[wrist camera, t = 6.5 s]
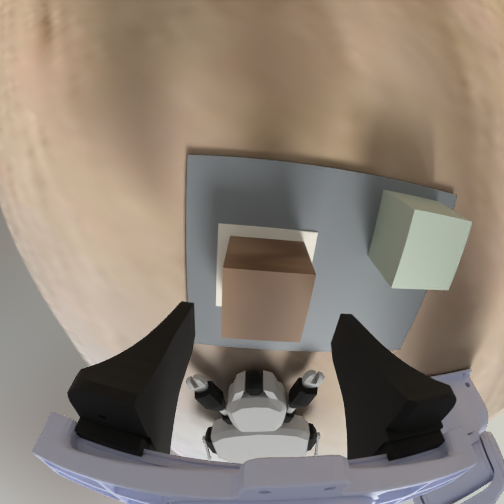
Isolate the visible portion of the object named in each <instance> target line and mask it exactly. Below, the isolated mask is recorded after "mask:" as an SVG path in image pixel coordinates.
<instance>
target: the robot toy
mask: <svg viewBox="0 0 504 504" xmlns="http://www.w3.org/2000/svg"><path fill="white" fill-rule="evenodd" d="M245 372H246V371H243V372H241V373H238V374H237V375H236V378H235V380H234V382H233V383H232V384H231V385H230V386H229V389H228V395H227V404H226V405H225V400H224V395H223V392H222V391H221V390H220V389H219V388H218V387H217V386H216V385H215V384H214V382H213V381H207V380H206V378H205V377H203V376H202V375H194V376H193V378H192V377H191V376H190V377H188V378H187V380H186V383H187V385H188V387H189V388H190V389H191V390H193V391H195V399H196V400H197V401H198V402H200V403H201V404H202V405H203V406H204V407H205V408H206V409H209V410H216V411H220V412H221V413H222V418H220V419H218V420H215V422H214V424H213V426H212V427H208V429H207V432H206V435H205V436H203V439H202V440H203V443H205V447H206V451H207V455H208V460H209V461H211V456H210V453H209V449H208V447H209V448H210V450H211V451H212V452H213V453H216V454H217V455H218V457H219V458H221V459H223V460H226V461H229V462H233V463H240V464H243V463H245V462H246V461H247V460H251V459H255V458H266V457H303V456H305V455H306V452H307V451H309V450H311V449H312V447H313V446H314V444H315V443H316V449H315V454H314V455H315V456H317V455H318V454H317V451H318V441H319V439H320V433H319V432H318V433H317V432H316V429H315V427H314V426H313V424H311V423H308V422H307V421H306V419H305V418H304V417H301V416H299V415H296V414H295V412H294V410H295V409H296V408H301V407H305V406H308V404H309V403H310V402H311V401H312V400H313V398H314V397H315V396H316V395H317V389H318V388H317V386H319V385H321V384H322V381H323V379H324V375H323V374H322V372H318V373H317V374H316V371H314V370H309V371H307V372H306V373H305V374H304V375H303V377H302V378H298V379H297V381H296V382H295V384H294V385H293V386H292V388H291V389H290V392H289V403H288V405H286V393H285V388H284V386H283V384H282V383H281V382H279V381H277V379H276V378H275V376H274V374H273V373H272V372H268V371H265V370H263V378H262V374H261V372H259V371H256V370H253V371H249V372H248V373H247V374H246V378H245Z"/></svg>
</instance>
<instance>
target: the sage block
mask: <svg viewBox="0 0 504 504" xmlns="http://www.w3.org/2000/svg"><path fill="white" fill-rule="evenodd" d="M471 225H472V221H470V220H469V219H467V218H466V217H464V216H462V215H461V214H459V213H457V212H456V211H454V210H452V209H450V208H449V207H447V206H445V205H443V204H442V203H440V202H438V201H435V200H430V199H426V198H422V197H417V196H412V195H408V194H403V193H398V192H393V191H388V190H383V194H382V199H381V203H380V208H379V212H378V217H377V221H376V225H375V230H374V234H373V238H372V242H371V246H370V249H369V253H368V257H369V258H370V259H371V261H372V262H373V263H374V265H375V266H376V268H377V269H378V270H379V272H380V273H381V275H382V276H383V277H384V279H385V280H386V282H387V283H388V284H389V286H390V287H391V288H399V289H424V290H449V288H450V285H451V283H452V280H453V278H454V275H455V273H456V270H457V267H458V265H459V262H460V259H461V256H462V254H463V251H464V248H465V245H466V242H467V239H468V235H469V232H470V229H471Z"/></svg>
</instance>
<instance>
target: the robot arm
mask: <svg viewBox="0 0 504 504" xmlns="http://www.w3.org/2000/svg"><path fill="white" fill-rule="evenodd" d="M194 339H195V312H194V303H191V302H183V301H182V302H181V303H180V304H179V305H178V306H177V307H176V308H175V309H174V310H173V311H172V312H171V313H170V314H169V315H168V316H167V317H166V318H165V319H164V320H163V321H162V322H161V323H160V324H159V325H158V326H157V327H156V328H155V329H154V330H153V331H151V332H150V333H149V334H148V335H147V336H146V337H144V338H143V339H142V340H140V341H139V342H138V343H136V344H135V345H133V346H132V347H130V348H129V349H127V350H125V351H123V352H122V353H120V354H118V355H116V356H114V357H112V358H110V359H108V360H106V361H103V362H101V363H98V364H96V365H93V366H90V367H87V368H84V369H81V370H80V371H79V373H78V374H77V376H76V377H75V379H74V381H73V383H72V385H71V387H70V389H69V391H68V392H67V393H68V398H69V400H70V402H71V404H72V405H73V407H74V408H75V410H76V412H77V413H78V414H79V416H80V419H79V421H78V423H77V422H76V421H75V420H73V419H71V418H69V417H67V416H64V415H62V414H60V413H57V412H55V411H51V413H50V415H49V417H48V419H47V421H46V423H45V425H44V427H43V429H42V431H41V433H40V435H39V437H38V439H37V441H36V443H35V445H34V448H33V450H32V452H33V453H34V454H35V455H36V456H37V457H38V458H39V459H40V460H41V461H43V462H44V463H45V464H46V465H47V466H48V467H50V468H51V469H52V470H53V471H55V472H56V473H57V474H59V475H61V476H63V477H65V478H67V479H69V480H71V481H73V482H75V483H77V484H80V485H82V486H84V487H87V488H89V489H91V490H93V491H96V492H98V493H101V494H103V495H105V496H108V497H110V498H113V499H116V500H118V501H121V502H124V503H127V504H399V503H402V502H405V501H407V500H410V499H413V501H414V504H453V503H455V502H457V501H458V500H460V499H462V498H464V497H466V496H467V495H469V494H471V493H473V492H474V491H476V490H478V489H479V488H481V487H482V486H484V485H486V484H487V483H489V482H490V481H492V482H491V484H490V485H489V486H488V487H487V488H486V489H484V490H483V491H482V492H480V493H478V494H477V495H475V496H473V497H472V498H470V499H468V500H466V501H464V502H463V503H461V504H495V503H496V501H497V500H498V498H499V497H500V495H501V494H502V492H503V491H504V459H503V456H502V454H501V452H500V449H499V447H498V445H497V443H496V440H495V438H494V437H493V435H492V434H491V432H486V431H485V429H486V427H487V424H488V411H487V408H486V405H485V404H484V402H483V400H482V398H481V396H480V394H479V393H478V391H477V389H476V387H475V386H474V384H473V382H472V380H471V379H470V377H469V375H470V374H471V373H472V370H471V369H467V370H462V371H457V372H453V373H448V374H442V375H437V376H431V377H429V376H426V375H424V374H423V373H421V372H419V371H417V370H416V369H414V368H412V367H411V366H409V365H408V364H406V363H405V362H403V361H402V360H400V359H399V358H398V357H396V356H395V355H394V354H393V353H391V352H390V351H389V350H388V349H387V348H386V347H385V346H383V345H382V344H381V343H380V342H379V341H378V340H377V339H376V338H375V337H374V336H373V335H372V334H371V333H370V332H369V331H368V330H367V329H366V328H365V327H364V326H363V325H362V324H361V323H360V322H359V321H358V320H357V319H356V318H355V317H354V316H353V315H352V314H340V317H339V320H338V323H337V326H336V329H335V332H334V335H333V338H332V341H331V351H332V358H333V363H334V367H335V370H336V374H337V378H338V381H339V385H340V389H341V392H342V396H343V401H344V408H345V416H346V428H347V458H345V457H343V456H341V455H323V456H308V457H266V458H255V459H251V460H247V461H246V462H245V463H243V464H240V463H227V462H217V461H208V460H201V459H194V458H187V457H181V456H176V455H170V447H171V438H172V431H173V424H174V418H175V412H176V406H177V401H178V396H179V392H180V388H181V384H182V381H183V378H184V375H185V372H186V369H187V366H188V363H189V360H190V357H191V354H192V350H193V345H194Z"/></svg>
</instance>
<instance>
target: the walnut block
mask: <svg viewBox="0 0 504 504" xmlns="http://www.w3.org/2000/svg"><path fill="white" fill-rule="evenodd" d="M315 277H316V273H315V270H314V267H313V265H312V262H311V259H310V256H309V254H308V251H307V248H306V246H305V243H304V242H301V241H289V240H277V239H265V238H252V237H239V236H230V238H229V243H228V247H227V252H226V256H225V260H224V265H223V277H222V315H221V338H232V339H245V340H260V341H279V342H300V341H301V337H302V333H303V329H304V325H305V321H306V317H307V313H308V309H309V304H310V300H311V296H312V291H313V287H314V282H315Z"/></svg>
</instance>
